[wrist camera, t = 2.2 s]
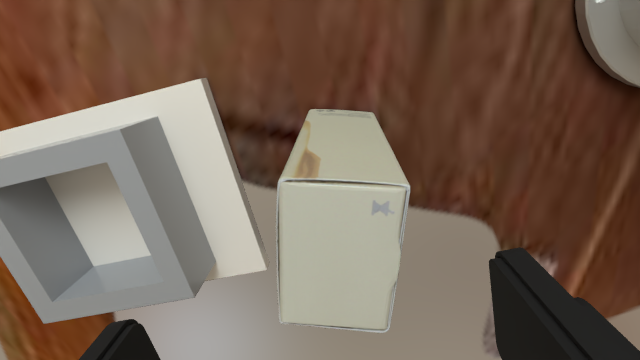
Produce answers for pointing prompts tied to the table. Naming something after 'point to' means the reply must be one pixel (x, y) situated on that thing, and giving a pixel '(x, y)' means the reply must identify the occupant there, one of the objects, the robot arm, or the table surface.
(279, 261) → the skincare box
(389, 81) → the table surface
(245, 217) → the square socket base
